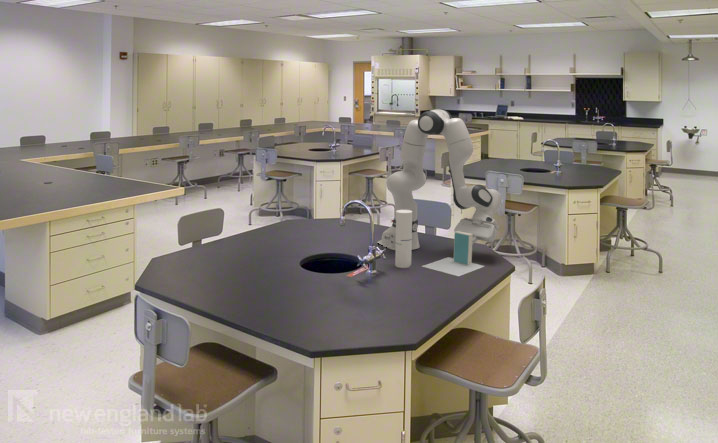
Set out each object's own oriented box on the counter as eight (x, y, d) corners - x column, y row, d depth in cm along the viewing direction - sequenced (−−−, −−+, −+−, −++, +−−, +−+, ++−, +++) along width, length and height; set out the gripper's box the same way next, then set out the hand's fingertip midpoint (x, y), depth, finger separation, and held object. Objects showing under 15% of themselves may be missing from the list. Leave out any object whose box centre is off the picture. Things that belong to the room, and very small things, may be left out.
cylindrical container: (410, 268, 249) (411, 213, 244) (394, 267, 251) (395, 212, 245) (412, 263, 256) (413, 210, 251) (396, 262, 258) (397, 209, 252)
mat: (421, 267, 250) (421, 266, 250) (448, 258, 264) (448, 257, 264) (458, 278, 236) (458, 276, 236) (485, 267, 250) (485, 266, 250)
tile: (453, 261, 256) (454, 232, 253) (456, 260, 258) (457, 230, 255) (467, 265, 251) (469, 235, 248) (471, 264, 253) (472, 233, 250)
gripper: (459, 213, 265) (446, 237, 261) (497, 220, 251) (484, 245, 247) (464, 221, 270) (451, 244, 265) (502, 228, 255) (489, 253, 251)
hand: (468, 245), depth 256 cm, fingers closed
